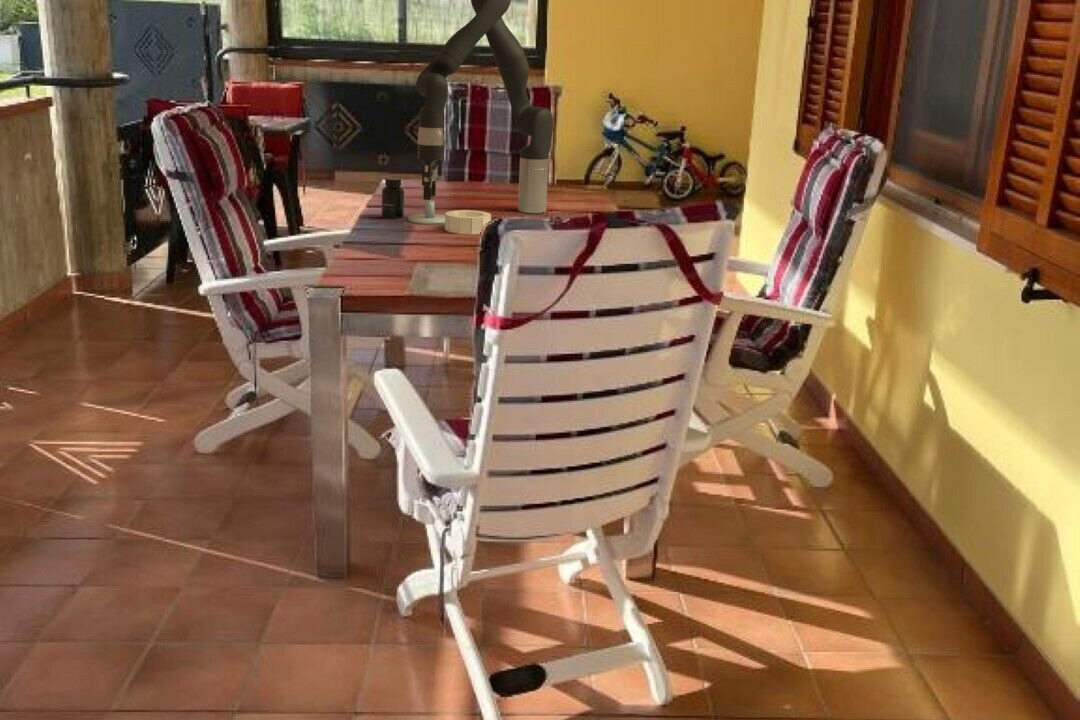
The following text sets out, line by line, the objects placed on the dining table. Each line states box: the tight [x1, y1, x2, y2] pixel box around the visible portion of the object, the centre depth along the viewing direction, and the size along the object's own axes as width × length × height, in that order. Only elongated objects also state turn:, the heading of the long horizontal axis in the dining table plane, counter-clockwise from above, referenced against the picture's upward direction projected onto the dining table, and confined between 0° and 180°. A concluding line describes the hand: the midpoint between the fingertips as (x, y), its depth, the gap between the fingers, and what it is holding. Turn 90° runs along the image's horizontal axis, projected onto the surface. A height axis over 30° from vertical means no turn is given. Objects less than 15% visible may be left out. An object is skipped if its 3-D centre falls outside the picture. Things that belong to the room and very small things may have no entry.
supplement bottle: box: [381, 177, 405, 220], centre depth 320 cm, size 7×7×12 cm
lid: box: [407, 199, 445, 226], centre depth 317 cm, size 13×13×6 cm
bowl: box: [444, 209, 492, 235], centre depth 306 cm, size 13×13×5 cm
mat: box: [402, 218, 445, 227], centre depth 318 cm, size 14×14×1 cm
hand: (429, 197), depth 315 cm, fingers open, 8 cm apart
